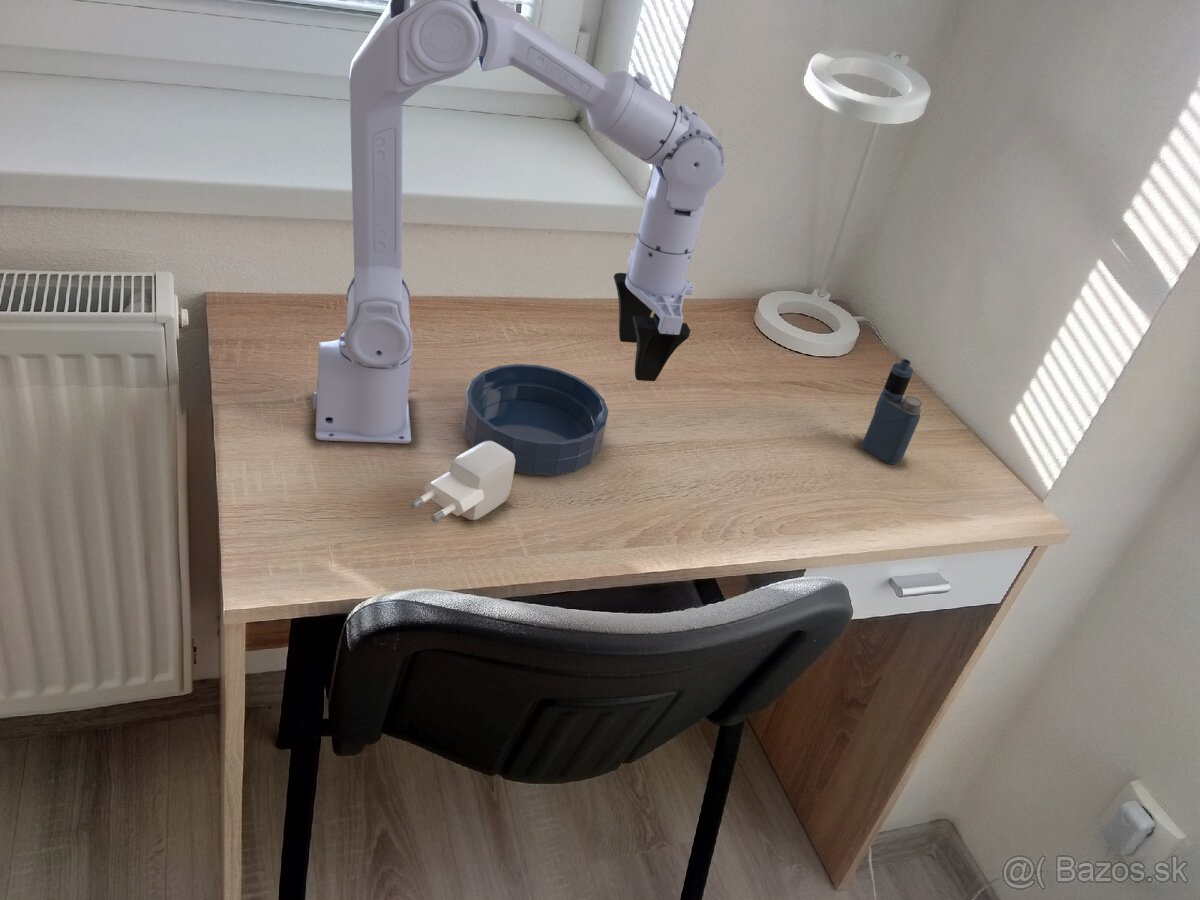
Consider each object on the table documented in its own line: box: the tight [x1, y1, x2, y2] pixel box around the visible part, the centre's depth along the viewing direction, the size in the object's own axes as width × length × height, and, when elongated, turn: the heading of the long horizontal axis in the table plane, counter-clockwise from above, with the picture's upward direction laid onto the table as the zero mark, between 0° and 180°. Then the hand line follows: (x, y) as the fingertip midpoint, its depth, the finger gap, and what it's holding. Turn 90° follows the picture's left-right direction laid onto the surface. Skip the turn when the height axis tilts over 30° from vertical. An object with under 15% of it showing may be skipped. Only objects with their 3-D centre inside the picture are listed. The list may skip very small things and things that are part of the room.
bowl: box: [461, 363, 609, 476], centre depth 112 cm, size 15×15×4 cm
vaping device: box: [860, 358, 923, 465], centre depth 120 cm, size 3×5×12 cm, turn 45°
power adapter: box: [409, 441, 516, 523], centre depth 98 cm, size 11×5×6 cm, turn 144°
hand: (636, 359), depth 110 cm, fingers open, 7 cm apart
